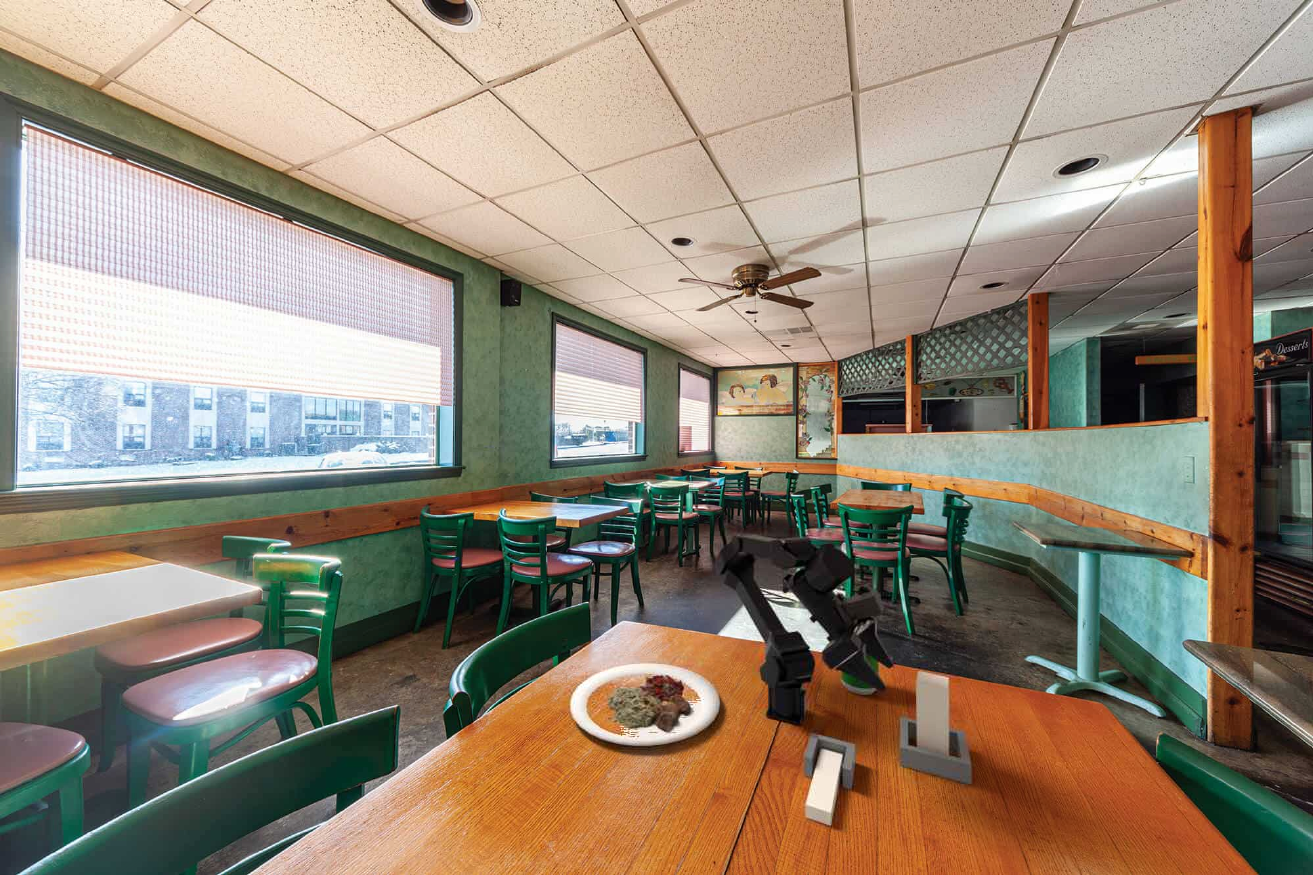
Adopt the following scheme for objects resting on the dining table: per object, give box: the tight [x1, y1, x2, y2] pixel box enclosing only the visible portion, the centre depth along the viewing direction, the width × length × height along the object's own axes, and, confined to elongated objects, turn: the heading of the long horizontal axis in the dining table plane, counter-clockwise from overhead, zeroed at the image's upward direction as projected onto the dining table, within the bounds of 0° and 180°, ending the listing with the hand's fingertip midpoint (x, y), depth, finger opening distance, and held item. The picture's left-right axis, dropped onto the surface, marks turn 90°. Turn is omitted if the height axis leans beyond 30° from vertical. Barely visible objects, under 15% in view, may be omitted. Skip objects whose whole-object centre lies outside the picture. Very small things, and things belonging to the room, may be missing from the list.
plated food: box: [569, 662, 721, 747], centre depth 98 cm, size 30×30×3 cm
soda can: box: [840, 653, 880, 696], centre depth 104 cm, size 8×8×12 cm
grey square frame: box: [899, 716, 973, 786], centre depth 81 cm, size 10×10×3 cm
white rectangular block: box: [915, 670, 950, 756], centre depth 81 cm, size 4×4×13 cm
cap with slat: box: [803, 732, 856, 827], centre depth 74 cm, size 7×16×3 cm, turn 153°
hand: (888, 677), depth 81 cm, fingers open, 9 cm apart
